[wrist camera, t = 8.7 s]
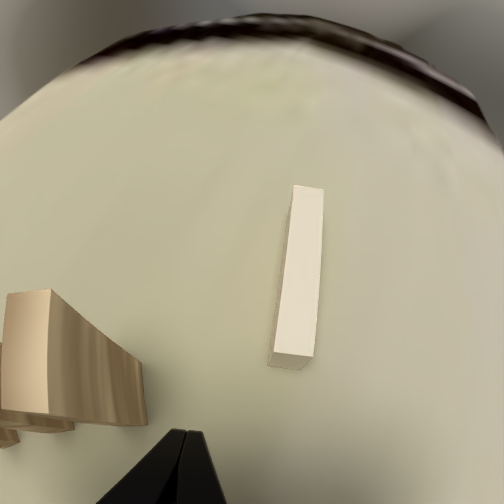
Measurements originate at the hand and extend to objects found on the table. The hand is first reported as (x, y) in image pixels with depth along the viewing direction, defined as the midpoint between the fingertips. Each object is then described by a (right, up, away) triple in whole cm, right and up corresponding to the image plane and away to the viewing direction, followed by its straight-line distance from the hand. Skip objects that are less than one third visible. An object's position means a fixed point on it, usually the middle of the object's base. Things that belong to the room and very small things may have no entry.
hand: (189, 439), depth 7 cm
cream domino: (+4, -1, +10) cm, 10 cm away
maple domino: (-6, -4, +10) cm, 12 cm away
